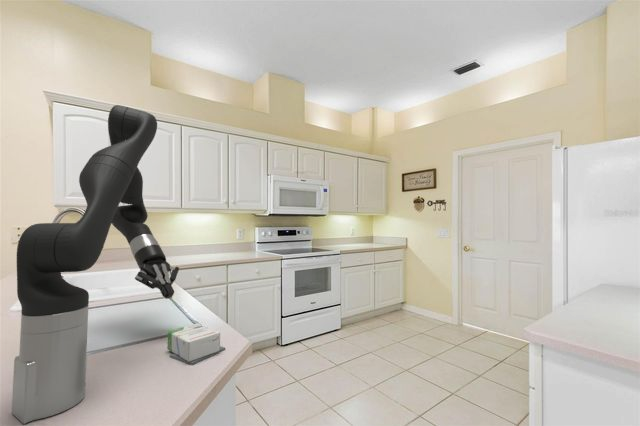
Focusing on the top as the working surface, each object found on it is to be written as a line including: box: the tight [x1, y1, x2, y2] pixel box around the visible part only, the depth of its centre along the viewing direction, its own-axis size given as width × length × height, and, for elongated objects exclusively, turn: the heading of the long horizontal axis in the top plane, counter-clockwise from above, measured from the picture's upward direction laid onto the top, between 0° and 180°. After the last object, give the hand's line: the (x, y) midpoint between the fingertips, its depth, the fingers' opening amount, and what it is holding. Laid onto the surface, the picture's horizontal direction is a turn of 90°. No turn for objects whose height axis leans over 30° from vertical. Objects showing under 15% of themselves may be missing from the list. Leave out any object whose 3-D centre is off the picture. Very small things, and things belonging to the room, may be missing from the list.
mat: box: [169, 345, 226, 366], centre depth 74 cm, size 10×9×1 cm
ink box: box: [167, 322, 221, 362], centre depth 75 cm, size 8×5×12 cm
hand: (170, 296), depth 83 cm, fingers closed
